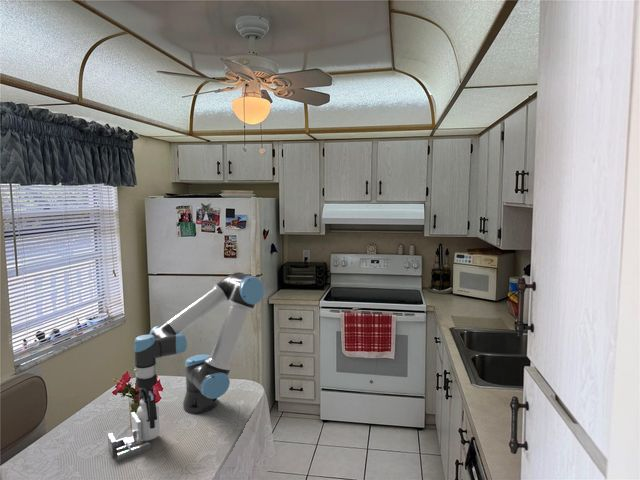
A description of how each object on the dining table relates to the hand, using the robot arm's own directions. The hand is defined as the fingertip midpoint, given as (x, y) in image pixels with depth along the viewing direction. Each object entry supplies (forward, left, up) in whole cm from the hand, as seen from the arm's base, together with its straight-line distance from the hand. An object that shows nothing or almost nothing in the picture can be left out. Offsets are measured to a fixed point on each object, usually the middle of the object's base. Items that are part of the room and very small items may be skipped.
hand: (148, 430), depth 163 cm
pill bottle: (0, 0, -2) cm, 2 cm away
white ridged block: (+8, +2, -4) cm, 9 cm away
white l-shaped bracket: (+7, +2, -3) cm, 8 cm away
